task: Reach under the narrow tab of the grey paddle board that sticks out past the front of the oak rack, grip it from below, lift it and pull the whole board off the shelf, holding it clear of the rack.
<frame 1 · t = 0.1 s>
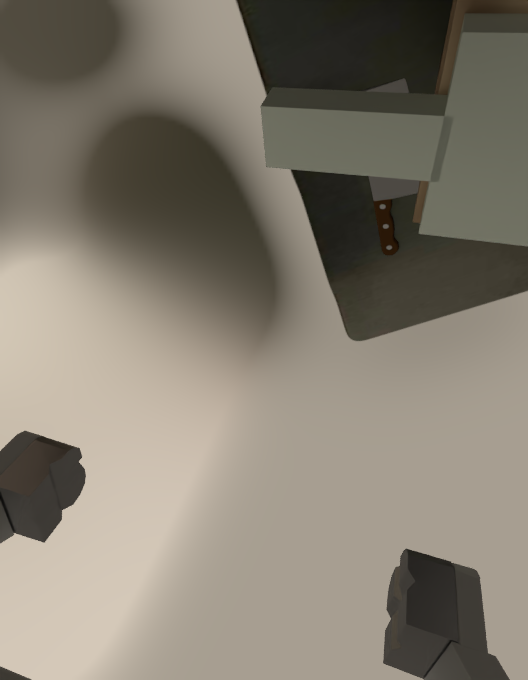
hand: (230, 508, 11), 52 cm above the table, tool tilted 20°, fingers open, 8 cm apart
kitchen cleaver: (394, 175, 60), on the table
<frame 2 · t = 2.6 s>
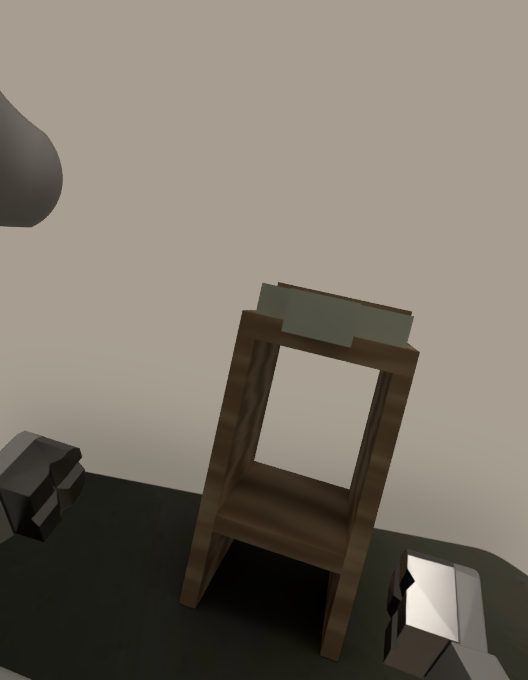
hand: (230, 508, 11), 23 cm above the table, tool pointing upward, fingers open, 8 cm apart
grey paddle board: (333, 326, 43), point 26 cm above the table, touching rack
rack: (271, 583, 45), on the table
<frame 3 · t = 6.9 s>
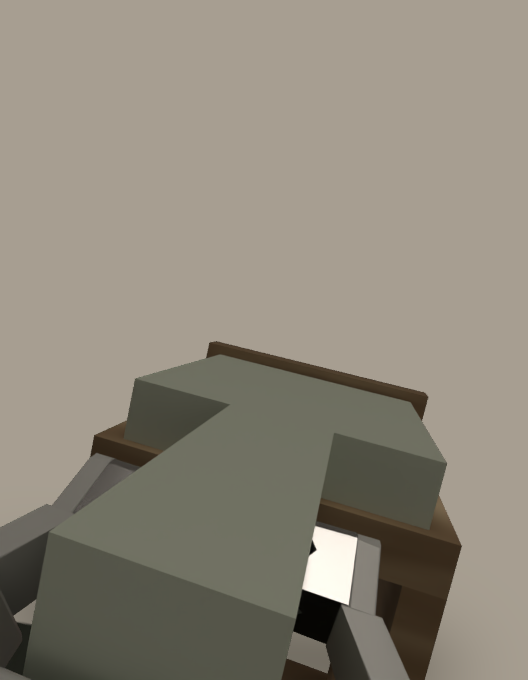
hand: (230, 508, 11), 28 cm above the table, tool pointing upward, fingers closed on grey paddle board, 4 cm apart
grey paddle board: (291, 436, 24), point 26 cm above the table, touching gripper, rack
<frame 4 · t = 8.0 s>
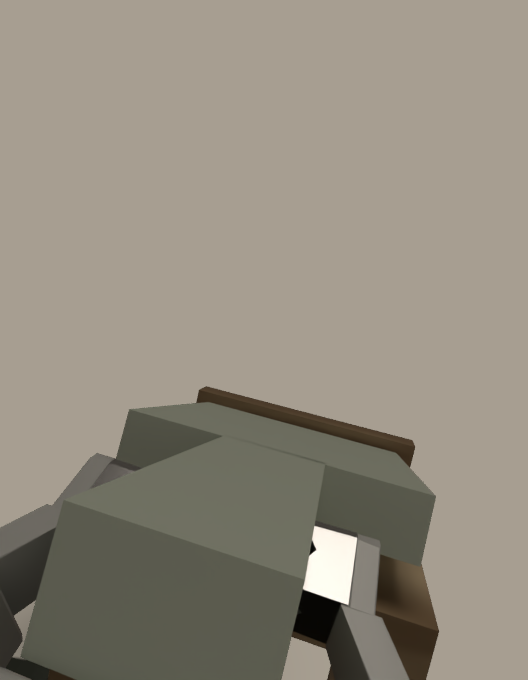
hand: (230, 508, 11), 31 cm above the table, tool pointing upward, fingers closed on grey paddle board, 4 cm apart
grey paddle board: (278, 481, 24), point 27 cm above the table, tilted 9°, touching gripper, rack
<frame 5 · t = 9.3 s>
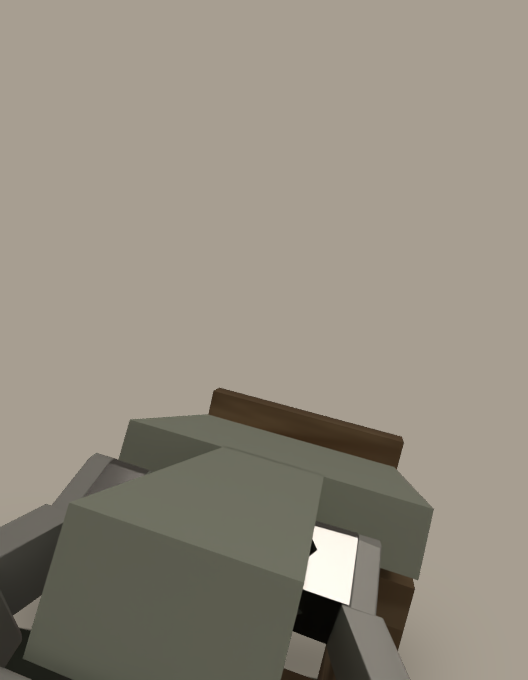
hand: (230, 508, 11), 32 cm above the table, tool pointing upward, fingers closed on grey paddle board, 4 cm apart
grey paddle board: (277, 494, 24), point 27 cm above the table, tilted 12°, touching gripper
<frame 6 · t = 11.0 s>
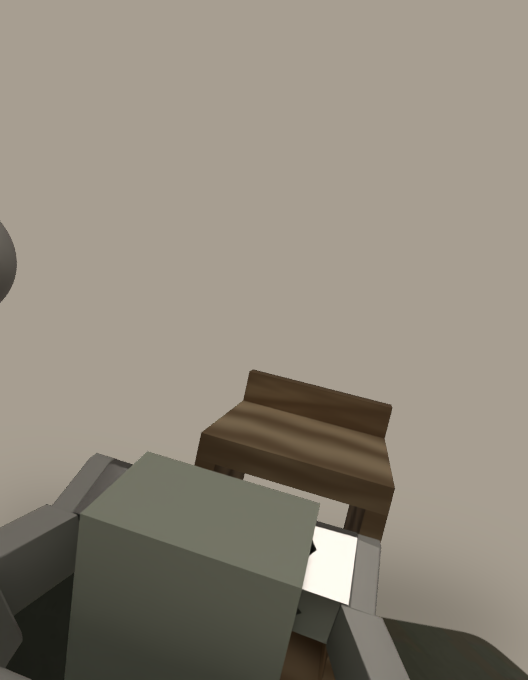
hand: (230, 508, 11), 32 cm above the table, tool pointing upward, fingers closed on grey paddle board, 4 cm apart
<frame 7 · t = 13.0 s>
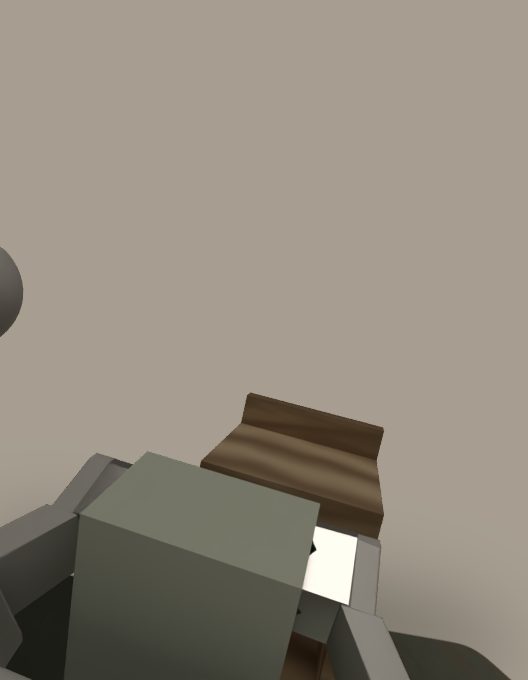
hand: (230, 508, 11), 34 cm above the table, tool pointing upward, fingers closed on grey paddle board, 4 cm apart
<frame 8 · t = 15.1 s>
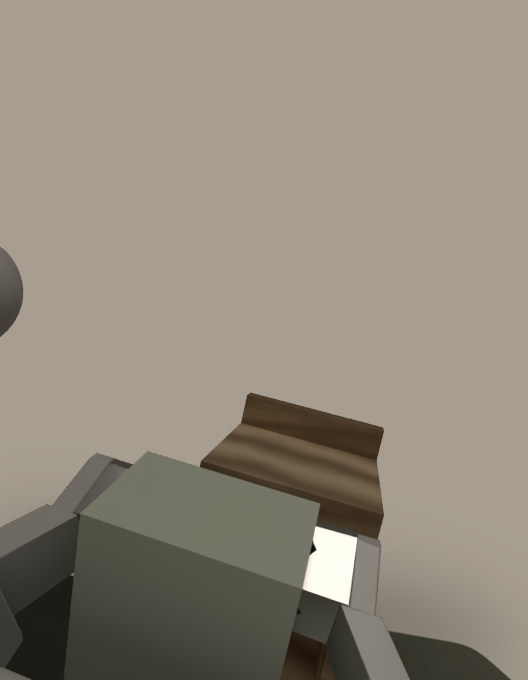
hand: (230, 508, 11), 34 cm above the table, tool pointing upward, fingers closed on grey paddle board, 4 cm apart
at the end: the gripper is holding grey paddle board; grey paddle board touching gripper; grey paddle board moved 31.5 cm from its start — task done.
